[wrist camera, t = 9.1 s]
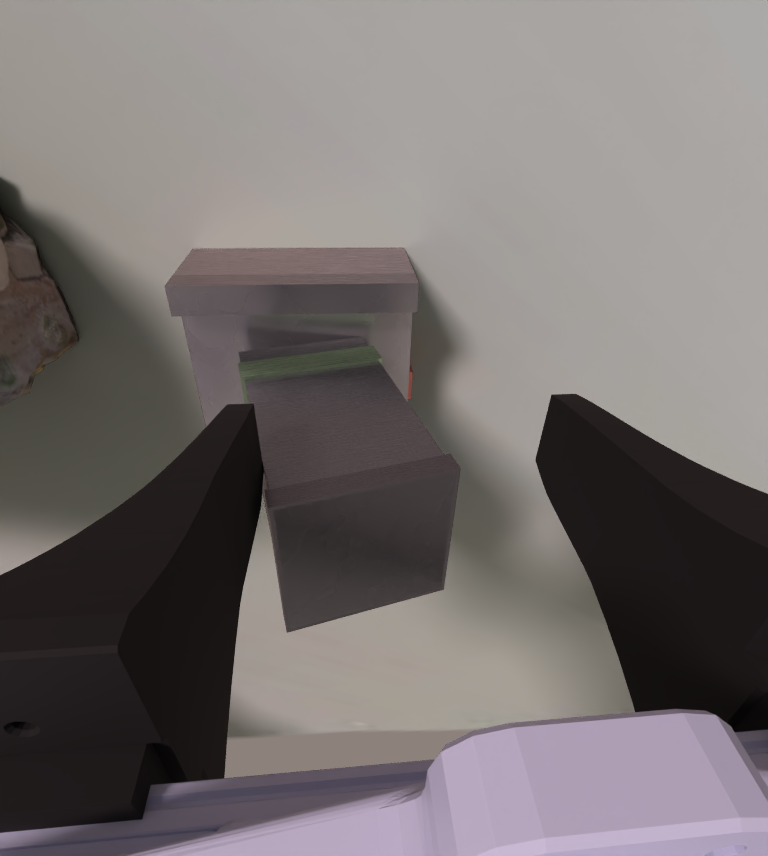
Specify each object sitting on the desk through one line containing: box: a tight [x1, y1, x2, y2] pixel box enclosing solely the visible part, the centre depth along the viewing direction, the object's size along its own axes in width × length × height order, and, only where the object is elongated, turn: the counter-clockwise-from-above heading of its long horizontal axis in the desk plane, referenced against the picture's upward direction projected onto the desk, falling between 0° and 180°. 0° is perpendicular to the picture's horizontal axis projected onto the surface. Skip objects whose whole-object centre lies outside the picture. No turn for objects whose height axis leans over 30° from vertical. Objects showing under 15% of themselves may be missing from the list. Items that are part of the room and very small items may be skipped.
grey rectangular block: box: [238, 337, 460, 632], centre depth 16 cm, size 5×5×8 cm
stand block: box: [165, 248, 419, 427], centre depth 20 cm, size 9×8×4 cm
